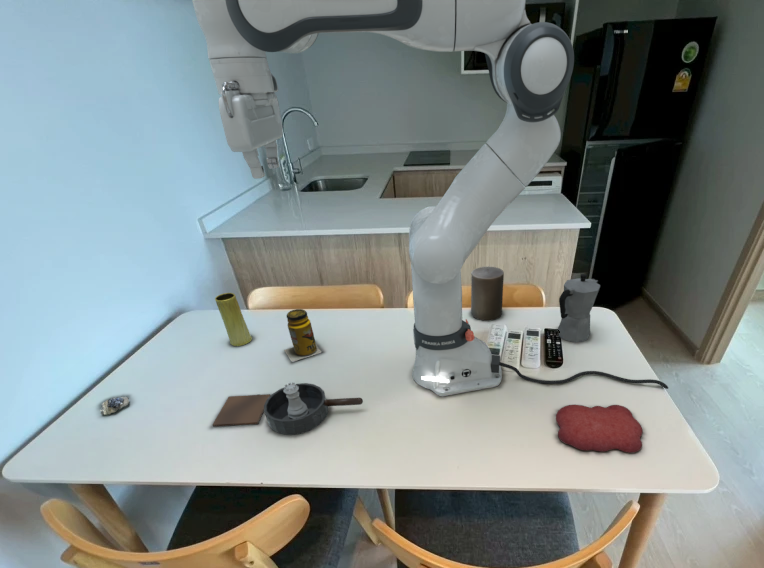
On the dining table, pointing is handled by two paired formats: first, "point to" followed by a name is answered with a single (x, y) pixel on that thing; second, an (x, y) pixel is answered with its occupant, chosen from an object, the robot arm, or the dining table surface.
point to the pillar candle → (487, 293)
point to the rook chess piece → (294, 401)
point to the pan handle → (343, 401)
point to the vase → (233, 319)
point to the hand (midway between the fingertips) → (267, 172)
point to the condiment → (300, 336)
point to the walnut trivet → (241, 410)
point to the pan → (285, 425)
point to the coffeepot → (577, 308)
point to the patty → (599, 428)
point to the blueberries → (114, 405)
